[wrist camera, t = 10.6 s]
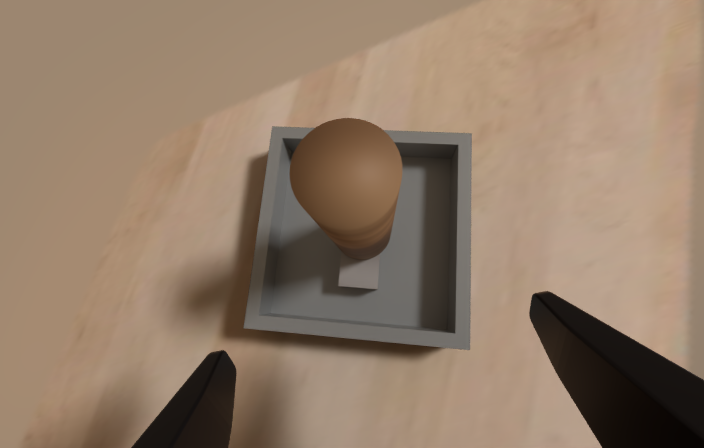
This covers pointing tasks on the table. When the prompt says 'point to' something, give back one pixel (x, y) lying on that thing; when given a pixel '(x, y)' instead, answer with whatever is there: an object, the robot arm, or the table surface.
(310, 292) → the tray
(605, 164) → the table surface
